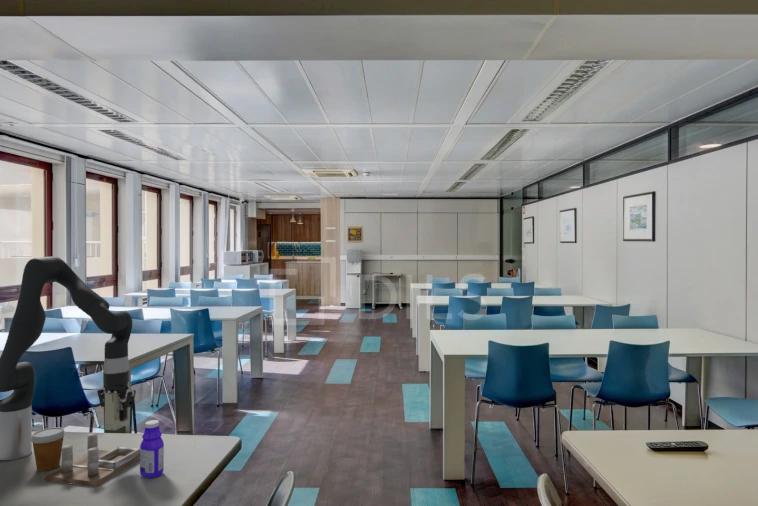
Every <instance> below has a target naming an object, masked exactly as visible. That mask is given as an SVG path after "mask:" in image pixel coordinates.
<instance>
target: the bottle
mask: <svg viewBox="0 0 758 506" xmlns="http://www.w3.org/2000/svg"><path fill="white" fill-rule="evenodd" d="M144 424H145V425H144V432H143V434H142V437H141V438H142V441H141V443H140V445H139V449H140V460H139V473H140V476H141V477H143V478H146V479H154V478H155V479H156V478H157V477H159V476H161V475H162V474H163V473H164V468H165V466H164V455H165V450H164V449H165V448H164V447H165V444H164V440H163V438H162V434H163V433H162V432H161V429H160V421H159V420H157V419H151V420H147V421H146V422H145V423H144Z"/></svg>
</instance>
